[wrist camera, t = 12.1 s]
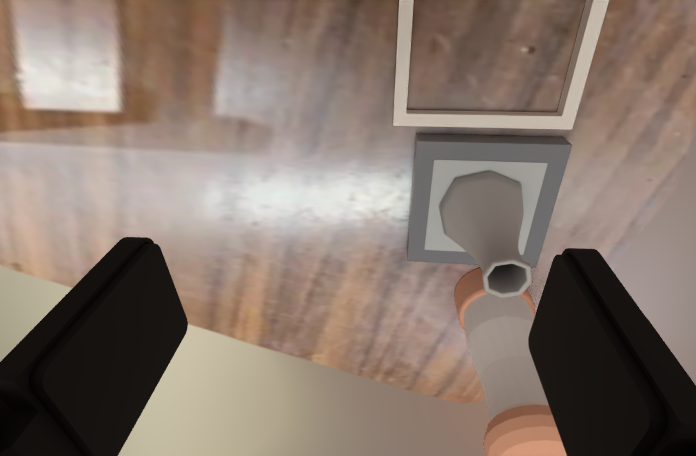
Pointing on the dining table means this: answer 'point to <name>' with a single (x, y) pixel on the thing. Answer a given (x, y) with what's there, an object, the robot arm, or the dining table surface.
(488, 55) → the dining table surface
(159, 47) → the dining table surface
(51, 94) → the dining table surface
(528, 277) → the flask
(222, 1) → the dining table surface
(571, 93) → the tray frame
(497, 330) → the salt shaker
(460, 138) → the slate pad
